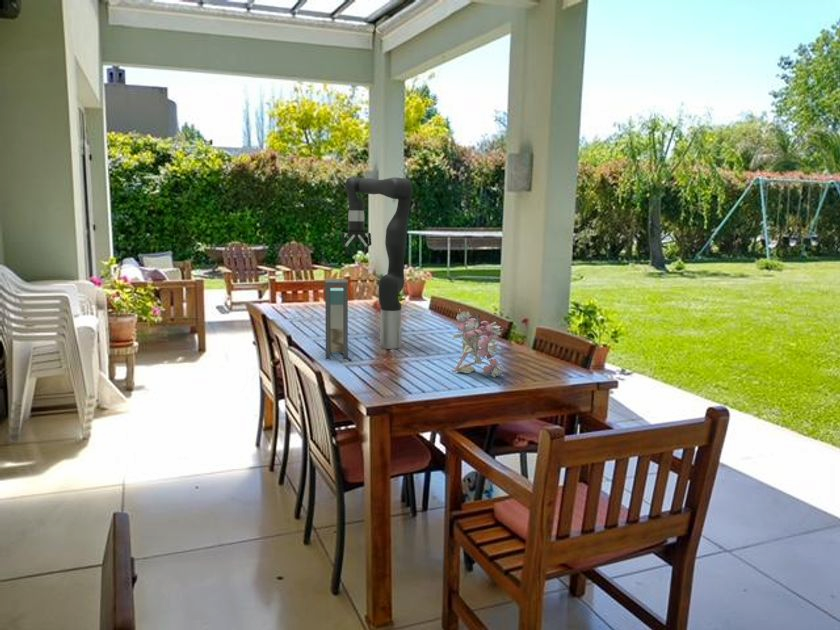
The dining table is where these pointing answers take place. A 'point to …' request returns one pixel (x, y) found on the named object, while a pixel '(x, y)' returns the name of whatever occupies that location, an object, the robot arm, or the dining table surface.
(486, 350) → the flower
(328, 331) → the stand
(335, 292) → the handle block
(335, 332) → the tower base block
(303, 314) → the dining table surface
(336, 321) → the tower top block
